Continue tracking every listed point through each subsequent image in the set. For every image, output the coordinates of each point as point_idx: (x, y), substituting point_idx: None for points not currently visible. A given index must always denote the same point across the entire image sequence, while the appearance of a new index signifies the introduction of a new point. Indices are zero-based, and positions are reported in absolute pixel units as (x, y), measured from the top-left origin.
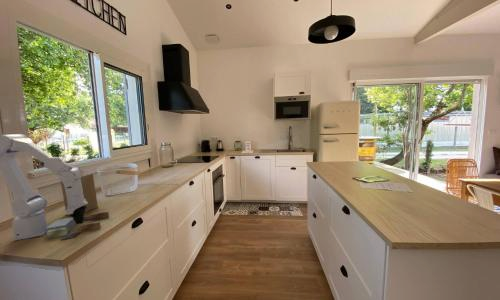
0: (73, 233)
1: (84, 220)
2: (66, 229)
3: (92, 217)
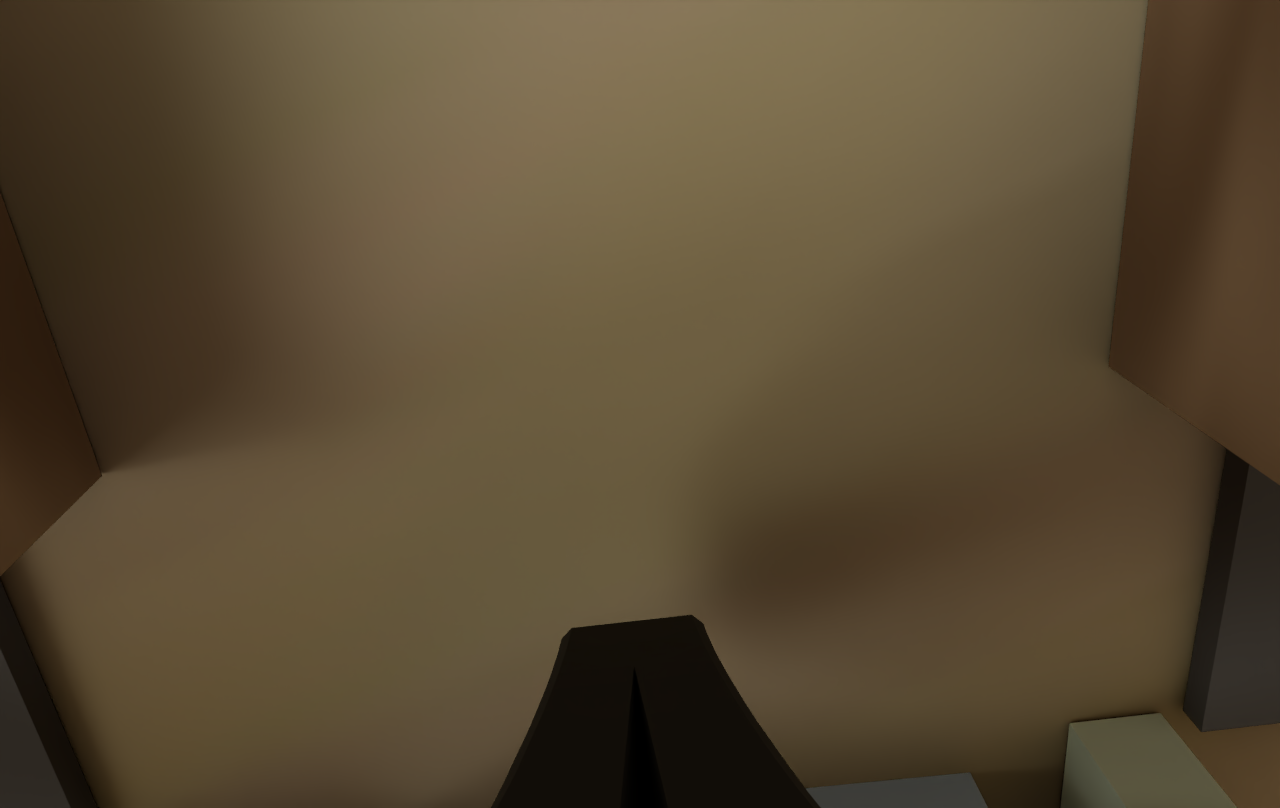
0: (1266, 539)
1: (58, 740)
2: None
3: (8, 493)
